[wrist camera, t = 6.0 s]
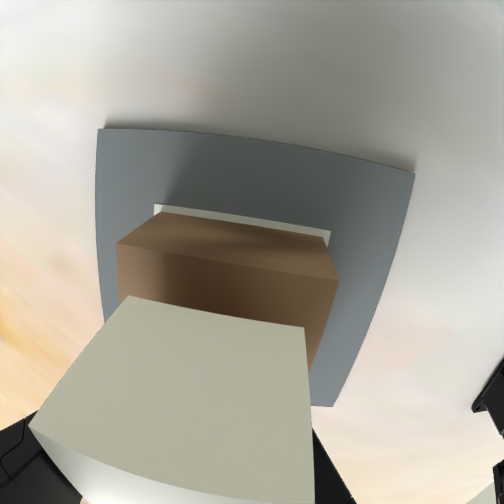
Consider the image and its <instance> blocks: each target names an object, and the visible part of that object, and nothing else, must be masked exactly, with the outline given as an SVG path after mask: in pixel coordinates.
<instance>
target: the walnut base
mask: <svg viewBox="0 0 504 504" xmlns="http://www.w3.org/2000/svg"><path fill="white" fill-rule="evenodd" d="M116 254H117V273H118V287H119V299H120V305H121V303H122V302H123V301H124V300H125V299H126V297H127V296H128V295H129V296H134V297H138V298H142V299H147V300H151V301H156V302H160V303H165V304H170V305H175V306H180V307H184V308H189V309H195V310H200V311H205V312H210V313H216V314H221V315H227V316H232V317H238V318H244V319H250V320H256V321H263V322H269V323H276V324H282V325H289V326H296V327H304V332H305V343H306V354H307V366H308V375H309V373H310V370H311V367H312V364H313V361H314V359H315V356H316V353H317V350H318V347H319V344H320V341H321V338H322V335H323V332H324V329H325V326H326V323H327V320H328V317H329V314H330V311H331V307H332V304H333V301H334V298H335V294H336V291H337V287H338V284H339V281H340V280H339V278H338V275H337V272H336V270H335V267H334V265H333V262H332V259H331V257H330V254H329V252H328V249H327V247H326V244H325V242H324V239H323V237H320V236H314V235H308V234H302V233H297V232H291V231H285V230H279V229H272V228H266V227H260V226H254V225H248V224H241V223H235V222H228V221H222V220H215V219H209V218H202V217H195V216H188V215H181V214H174V213H167V212H159V213H157V214H156V215H154V216H153V217H152V218H150V219H149V220H147V221H146V222H145V223H143V224H142V225H140V226H139V227H138V228H136V229H135V230H133V231H132V232H131V233H129V234H128V235H127V236H125V237H124V238H122V239H121V240H120V241H118V242H117V243H116Z"/></svg>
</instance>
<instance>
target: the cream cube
mask: <svg viewBox="0 0 504 504" xmlns="http://www.w3.org/2000/svg"><path fill="white" fill-rule="evenodd" d="M28 427H29V428H30V430H31V431H32V433H33V434H34V436H35V437H36V439H37V440H38V441H39V443H40V444H41V446H42V447H43V449H44V450H45V451H46V453H47V454H48V455H49V457H50V458H51V459H52V461H53V462H54V463H55V464H56V466H57V467H58V468H59V469H60V471H61V472H62V473H63V474H64V476H65V477H66V478H67V479H68V480H69V481H70V483H71V484H72V485H73V486H74V487H75V488H76V489H77V491H78V492H79V493H80V494H81V495H82V496H83V497H84V498H85V499H86V500H87V501H88V502H89V503H90V504H315V489H314V461H313V439H312V422H311V406H310V391H309V378H308V366H307V354H306V343H305V332H304V327H296V326H289V325H282V324H276V323H269V322H263V321H256V320H250V319H244V318H238V317H232V316H227V315H221V314H216V313H210V312H205V311H200V310H195V309H189V308H184V307H180V306H175V305H170V304H165V303H160V302H156V301H151V300H147V299H142V298H138V297H134V296H129V295H128V296H127V297H126V299H125V300H124V301H123V302H122V303H121V305H120V306H119V307H118V308H117V309H116V310H115V312H114V313H113V314H112V315H111V316H110V318H109V319H108V320H107V321H106V323H105V324H104V325H103V326H102V327H101V329H100V330H99V331H98V332H97V334H96V335H95V336H94V337H93V339H92V340H91V341H90V342H89V344H88V345H87V346H86V347H85V349H84V350H83V351H82V352H81V354H80V355H79V356H78V358H77V359H76V360H75V361H74V363H73V364H72V365H71V367H70V368H69V369H68V371H67V372H66V373H65V375H64V376H63V377H62V379H61V380H60V381H59V383H58V384H57V385H56V387H55V388H54V389H53V391H52V392H51V393H50V395H49V396H48V398H47V399H46V400H45V402H44V403H43V405H42V406H41V407H40V409H39V410H38V412H37V413H36V414H35V416H34V417H33V419H32V420H31V422H30V423H29V425H28Z"/></svg>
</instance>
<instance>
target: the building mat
mask: <svg viewBox="0 0 504 504" xmlns="http://www.w3.org/2000/svg"><path fill="white" fill-rule="evenodd" d="M414 178H415V174H414V173H412V172H408V171H405V170H401V169H397V168H394V167H390V166H386V165H383V164H379V163H375V162H371V161H367V160H363V159H359V158H354V157H350V156H345V155H341V154H336V153H332V152H327V151H322V150H317V149H312V148H306V147H301V146H295V145H290V144H284V143H277V142H271V141H264V140H258V139H250V138H243V137H235V136H226V135H217V134H207V133H196V132H183V131H168V130H148V129H98V136H97V151H96V174H95V220H96V244H97V259H98V271H99V282H100V291H101V300H102V307H103V315H104V321H105V323H106V321H107V320H108V319H109V318H110V316H111V315H112V314H113V313H114V312H115V310H116V309H117V308H118V307H119V306H120V299H119V287H118V273H117V254H116V243H117V242H118V241H120V240H121V239H122V238H124V237H125V236H127V235H128V234H129V233H131V232H132V231H133V230H135V229H136V228H138V227H139V226H140V225H142V224H143V223H145V222H146V221H147V220H149V219H150V218H152V217H153V216H154V215H156V214H157V213H159V212H167V213H174V214H181V215H188V216H195V217H202V218H209V219H215V220H222V221H228V222H235V223H241V224H248V225H254V226H260V227H266V228H272V229H279V230H285V231H291V232H297V233H302V234H308V235H314V236H320V237H323V239H324V242H325V244H326V247H327V249H328V252H329V254H330V257H331V259H332V262H333V265H334V267H335V270H336V272H337V275H338V278H339V280H340V281H339V284H338V287H337V291H336V294H335V298H334V301H333V304H332V307H331V311H330V314H329V317H328V320H327V323H326V326H325V329H324V332H323V335H322V338H321V341H320V344H319V347H318V350H317V353H316V356H315V359H314V361H313V364H312V367H311V370H310V373H309V375H308V378H309V391H310V406H324V407H333V405H334V403H335V401H336V399H337V397H338V395H339V393H340V391H341V389H342V387H343V385H344V383H345V381H346V379H347V377H348V374H349V372H350V370H351V368H352V366H353V363H354V361H355V359H356V357H357V354H358V352H359V350H360V347H361V345H362V343H363V340H364V338H365V336H366V333H367V331H368V328H369V326H370V323H371V321H372V318H373V315H374V313H375V310H376V307H377V305H378V302H379V299H380V297H381V294H382V291H383V288H384V285H385V282H386V279H387V276H388V273H389V270H390V267H391V264H392V261H393V258H394V255H395V251H396V248H397V245H398V241H399V238H400V234H401V231H402V227H403V223H404V220H405V216H406V212H407V208H408V204H409V200H410V196H411V191H412V187H413V182H414Z"/></svg>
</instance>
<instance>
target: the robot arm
mask: <svg viewBox="0 0 504 504" xmlns="http://www.w3.org/2000/svg"><path fill="white" fill-rule="evenodd" d="M471 409H472V411H473V413H476V412H482V411H487V410H488V412H489V414H490V416H491V418H492V420H493V422H494V424H495V426H496V428H497V430H498V432H499V434H500V435H502V437H503V439H504V360H503V362H502V364H501V365H500V367H499V368H498V370H497V372H496V373H495V375H494V376H493V378H492V379H491V381H490V382H489V384H488V385H487V386H486V388H485V389H484V391H483V392H482V393H481V395H480V396H479V398H478V399H477V400H476V402H475V403H474V404H473V406H472V407H471ZM37 412H38V410H37V411H36V412H34V413H32V414H30V415H29V416H27V417H26V418H25V419H24V418H23V419H22V420H20V421H18V422H16V423H14V424H13V425H11V426H9V427H7V428H5V429H3V430H1V431H0V504H80V501H81V499H82V497H83V496H82V495H81V494H80V493H79V492H78V491H77V489H76V488H75V487H74V486H73V485H72V484H71V483H70V481H69V480H68V479H67V478H66V477H65V476H64V474H63V473H62V472H61V471H60V469H59V468H58V467H57V466H56V464H55V463H54V462H53V461H52V459H51V458H50V457H49V455H48V454H47V453H46V451H45V450H44V449H43V447H42V446H41V444H40V443H39V441H38V440H37V439H36V437H35V436H34V434H33V433H32V431H31V430H30V428H29V427H28V425H29V423H30V422H31V420H32V419H33V417H34V416H35V414H36V413H37ZM312 439H313V461H314V489H315V504H357V503H356V502H355V500H354V498H353V497H351V496H352V495H351V493H350V492H349V490H348V488H347V487H346V485H345V483H344V482H343V480H342V478H341V477H340V475H339V473H338V471H337V470H336V468H335V466H334V465H333V463H332V461H331V459H330V458H329V456H328V454H327V452H326V451H325V449H324V447H323V445H322V444H321V442H320V440H319V438H318V437H317V435H316V433H315V431H314V430H313V428H312ZM493 474H494V483H495V492H496V504H504V459H503V460H502V461H501V462H499V463H497V464H496V465H495V466H494V467H493Z"/></svg>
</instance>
